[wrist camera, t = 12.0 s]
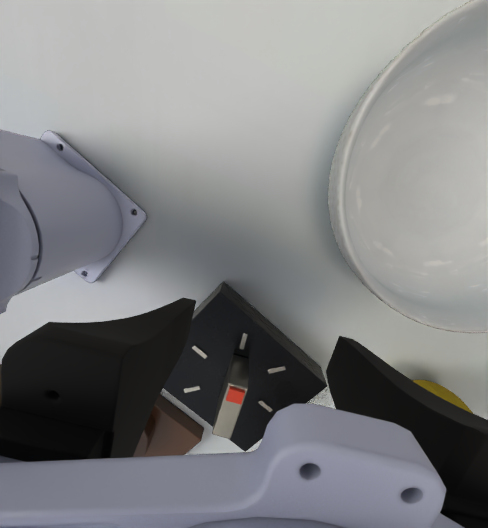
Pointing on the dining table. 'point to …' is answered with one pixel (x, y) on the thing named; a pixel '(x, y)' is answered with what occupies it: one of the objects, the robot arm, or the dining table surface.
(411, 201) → the cereal bowl
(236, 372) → the dimmer knob
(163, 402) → the lamp switch
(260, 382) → the dimmer
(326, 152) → the dining table surface
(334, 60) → the dining table surface
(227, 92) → the dining table surface
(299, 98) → the dining table surface
